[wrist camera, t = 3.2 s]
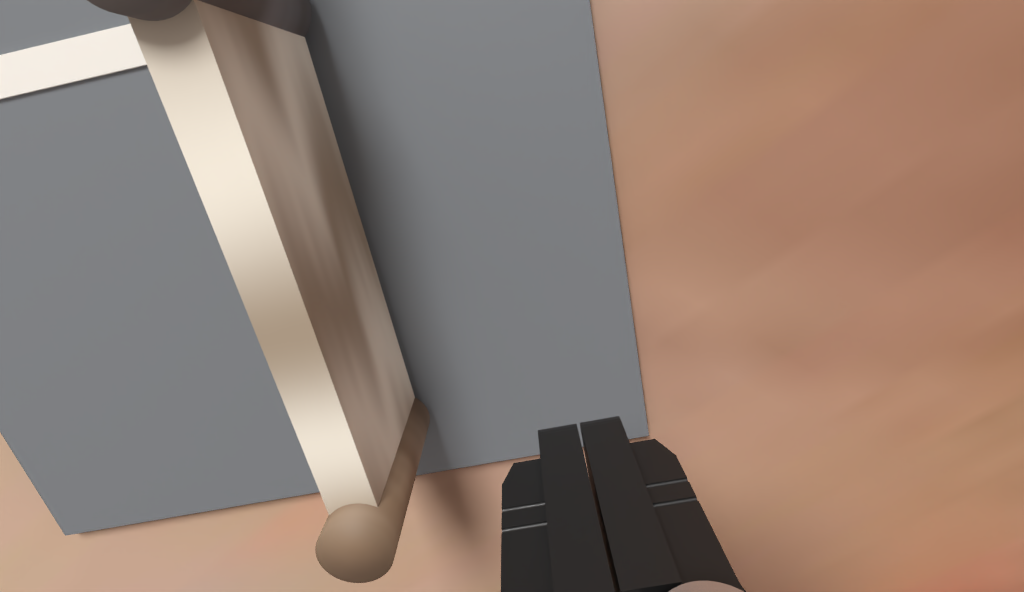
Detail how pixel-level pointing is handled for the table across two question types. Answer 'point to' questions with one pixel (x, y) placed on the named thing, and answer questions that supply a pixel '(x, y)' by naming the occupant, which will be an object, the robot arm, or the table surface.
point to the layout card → (388, 229)
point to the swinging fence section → (293, 253)
